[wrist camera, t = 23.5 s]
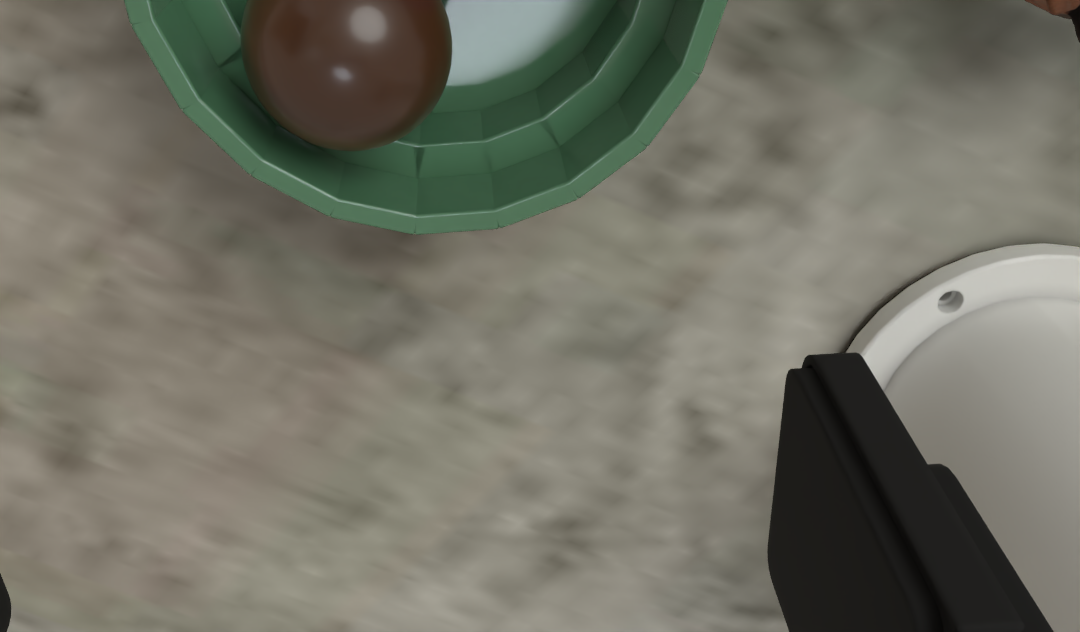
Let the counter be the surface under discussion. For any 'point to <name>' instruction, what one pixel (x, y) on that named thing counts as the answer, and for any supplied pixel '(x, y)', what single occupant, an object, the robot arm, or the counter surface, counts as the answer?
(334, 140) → the walnut ball
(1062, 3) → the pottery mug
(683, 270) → the counter surface
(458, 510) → the counter surface
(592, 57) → the bowl
